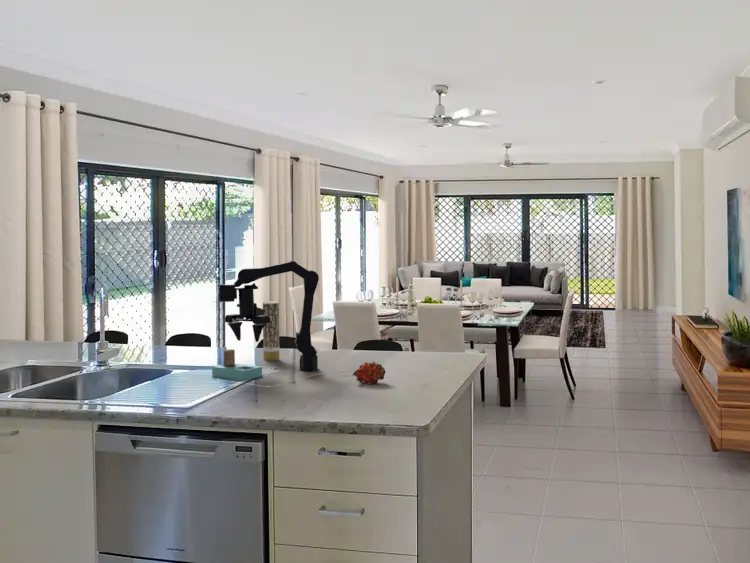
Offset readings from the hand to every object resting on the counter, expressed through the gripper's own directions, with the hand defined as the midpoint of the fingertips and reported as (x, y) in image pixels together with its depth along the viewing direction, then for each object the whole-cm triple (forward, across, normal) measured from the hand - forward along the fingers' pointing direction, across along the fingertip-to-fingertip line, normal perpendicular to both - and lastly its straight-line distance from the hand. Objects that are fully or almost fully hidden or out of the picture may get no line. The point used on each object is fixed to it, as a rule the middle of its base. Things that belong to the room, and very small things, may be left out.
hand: (248, 341), depth 291 cm
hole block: (+12, -2, +9) cm, 15 cm away
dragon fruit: (+14, -51, -7) cm, 53 cm away
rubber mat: (+13, -4, -3) cm, 14 cm away
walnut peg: (+12, +2, +9) cm, 15 cm away
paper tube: (+13, +12, -28) cm, 33 cm away
